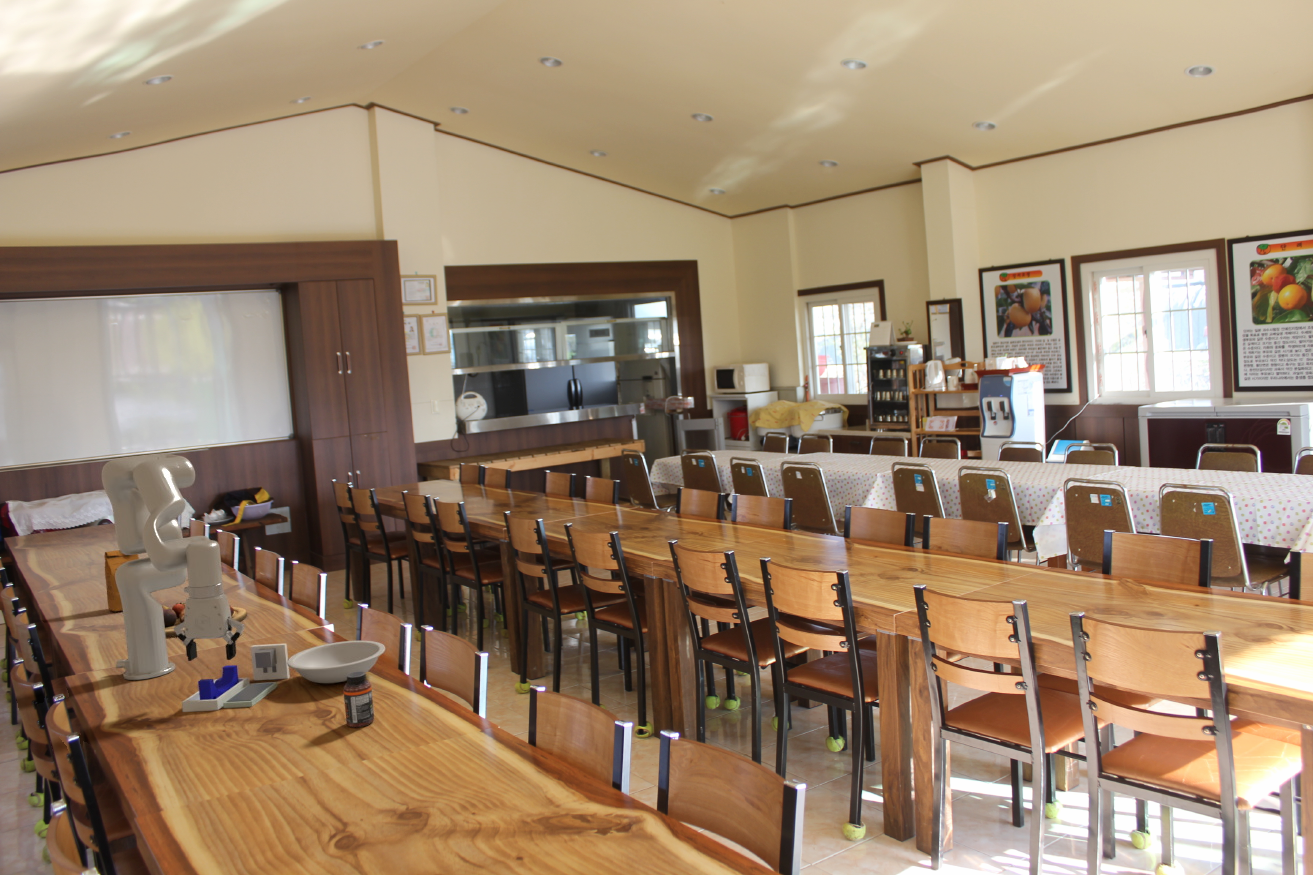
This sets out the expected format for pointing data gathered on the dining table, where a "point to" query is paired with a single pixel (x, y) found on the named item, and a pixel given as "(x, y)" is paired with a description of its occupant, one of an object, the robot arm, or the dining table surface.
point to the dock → (215, 704)
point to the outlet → (270, 661)
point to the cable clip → (218, 684)
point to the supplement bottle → (358, 700)
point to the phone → (250, 695)
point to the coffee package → (111, 565)
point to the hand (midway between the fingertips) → (211, 658)
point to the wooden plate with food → (178, 611)
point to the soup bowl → (336, 660)
